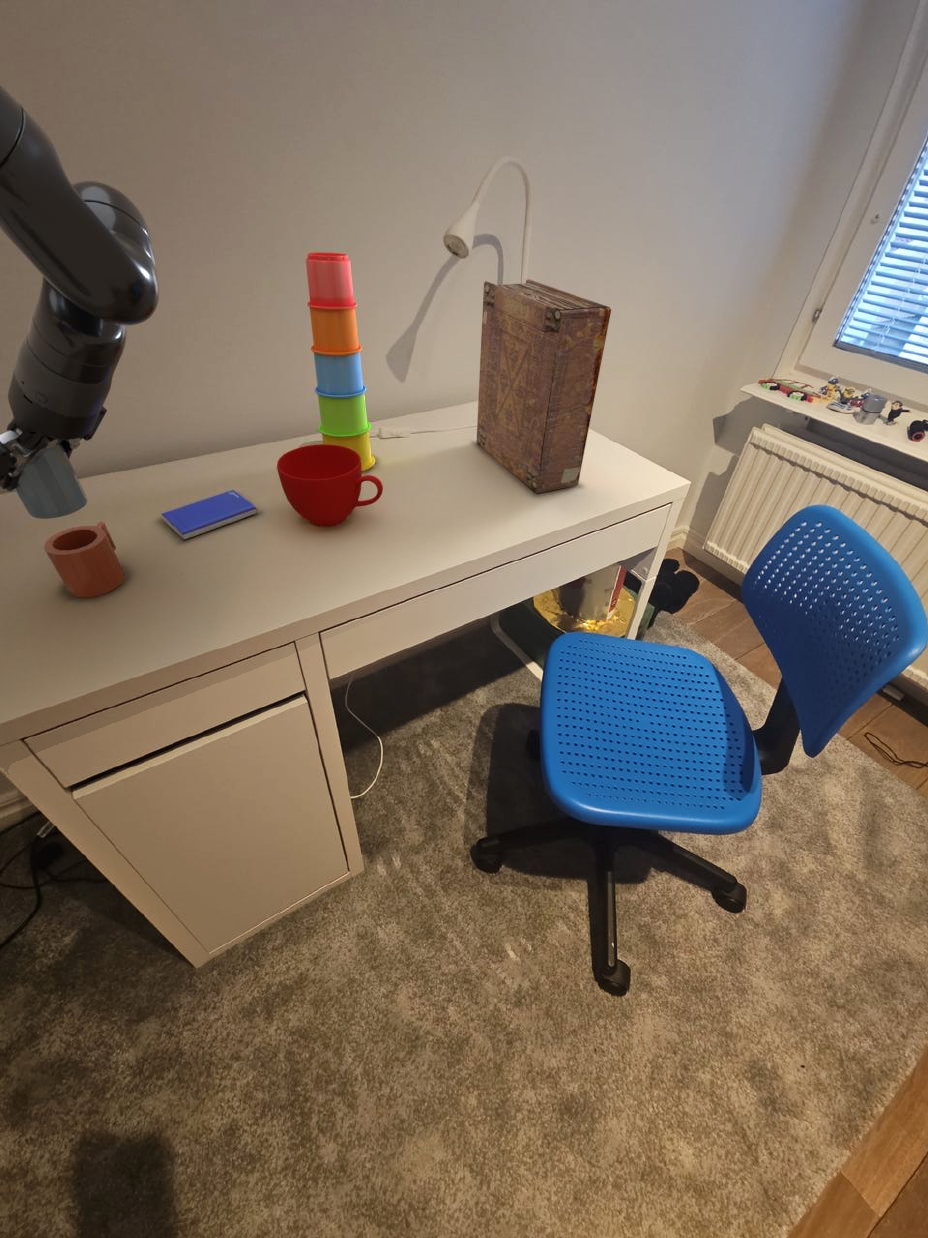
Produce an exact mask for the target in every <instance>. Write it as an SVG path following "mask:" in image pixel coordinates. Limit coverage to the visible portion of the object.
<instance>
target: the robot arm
mask: <svg viewBox="0 0 928 1238" xmlns="http://www.w3.org/2000/svg"><path fill="white" fill-rule="evenodd" d="M64 169H65V168H64V167H63V164H62V162H61V159H60V156H59V154H58V151H57V149H56V146H55V145H54V143H53V141H52V139H51V138H50V136H49V135H48V134H47V132H46V131H45V130H44V128H43V127H42V126H41V124H39V122H38V121H37V120H36V118H34V117H33V115H32V114H31V113H30V112H29V111H28V110H27V108H25V107H24V105H22V103H20V101H18V99H17V98H16V97H15V96H14V95H13V94H12V93H11V92H10V91H9V90H8V89H7V87H6V86H5V85H3V84H2V83H1V82H0V231H1V232H2V233H3V234H4V235H5V237H6V238H8V240H9V241H10V242H11V243H12V244H13V245H14V247H16V248H17V250H18V251H19V252H20V253H21V254H22V255H23V256H24V257H25V258H26V259H27V261H29V263H30V264H31V265H32V266H33V267H34V268H35V269H36V270H37V271H38V272H39V273H40V274H41V276H42V279H41V285H40V290H39V295H38V298H37V301H36V302H35V305H34V308H33V309H32V310H33V311H32V314H31V317H30V321H29V325H28V330H27V332H26V335H25V337H24V339H23V340H22V343H21V345H20V346H19V349H18V353H17V356H16V361H15V364H14V367H13V373H12V376H11V381H10V384H9V388H8V392H7V399H8V404H9V407H10V410H11V412H12V413H11V414H12V417H13V418H12V419H11V421H10V422H9V423H8V424H7V426H6V432H3V433H1V434H0V488H2V489H3V490H6V491H8V492H12V491H13V490H14V491H15V489H16V487H17V483H18V481H19V478H20V475H21V473H20V472H21V471H22V470H23V469H24V468H25V467H26V466H27V465H29V464H35V463H36V462H37V461H38V460H39V459H40V458H41V456H42V455H43V454H44V453H45V452H46V451H47V450H48V449H52V448H53V447H54V446H55V445H56V444H58V443H61V444H62V446H63V448H64V450H65V452H66V454H67V457H68V459H69V460H70V458H71V456H72V453H73V451H74V450H76V449H78V448H79V447H80V446H81V440H84V441H86V442H87V441H91V440H92V439H93V437H94V435H95V434H96V432H97V431H98V429H99V426H100V425H101V423H102V421H103V419H104V417H105V416H106V414H107V412H108V410H107V409H106V407H105V406H104V405H105V402H106V400H107V398H108V395H109V393H110V391H111V387H112V383H113V377H114V375H115V371H116V369H117V367H118V364H119V363H120V360H121V358H122V356H123V354H124V351H125V348H126V343H127V338H128V337H127V336H128V331H127V330H128V329H127V328H128V327H127V326H134V325H135V326H136V325H139V324H142V323H144V322H146V321H147V320H149V319H150V318H151V317H152V316H153V315H154V314H155V312H156V310H157V308H158V305H159V300H160V283H159V275H158V271H157V266H156V258H155V253H154V246H153V241H152V236H151V232H150V229H149V226H148V224H147V221H146V220H145V218H144V216H143V214H142V212H141V211H140V210H139V208H138V207H137V206H136V204H135V203H134V202H133V201H132V200H131V199H130V198H129V197H128V196H127V195H126V194H125V193H124V192H122V191H121V190H120V189H117V188H116V187H114V186H112V185H110V184H108V183H105V182H101V181H97V180H81V181H80V180H79V181H77V182H76V181H75V182H73V183H71V181H70V179H69V177H68V175H67V174H66V171H65V170H64ZM17 442H18V443H19V444H21V445H22V446H24V447H25V448H27V449H29V450H31V451H32V452H31V453H30V454H29V453H28V452H26V451H25V450H24V449H23V448H22V447H21V446H20V445H18V444H17ZM12 456H14V457H16V459H17V462H16V463H15V464H14V463H13V462H11V461H10V457H12Z"/></svg>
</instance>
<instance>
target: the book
mask: <svg viewBox="0 0 928 1238" xmlns="http://www.w3.org/2000/svg"><path fill="white" fill-rule="evenodd" d="M482 297H483V298H482V317H481V337H480V338H481V339H480V360H479V380H478V401H477V402H478V403H477V422H476V444H477V445H478V446H479V447H480V448H481V449H483V450H484V451H485V452H486V453H487V454H489V456H491V457H492V458H493V459H495V461H497V462H498V463H499V464H500V465H502V466H503V467H504V468H505V469H506V470H508V471H509V472H510V473H511V474H512V475H514V476H515V477H516V478H517V479H518V480H519V481H521V482H522V483H523V484H524V485H525V486H526V487H527V488H529V489H530V490H531V491H532V492H534V493H535V494H536V495H537V494H541V493H546V492H550V491H551V492H552V491H556V490H560V489H564V488H571V487H575V486H577V485H579V482H580V476H581V472H582V466H583V462H584V461H583V460H584V457H585V451H586V445H587V440H588V434H589V429H590V424H591V418H592V413H593V408H594V403H595V397H596V393H597V388H598V382H599V376H600V371H601V365H602V361H603V357H604V350H605V345H606V340H607V334H608V329H609V323H610V319H611V313H612V309H611V306H607V305H605V304H602V303H599V302H596V301H593V300H590V299H587V298H584V297H582V296H578V295H575V294H573V293H570V292H567V291H564V290H561V289H559V288H556V287H552V286H550V285H548V284H547V285H546V284H544V283H541V282H538V281H535V280H533V279H529V278H528V279H525V282H524V283H507V284H496V283H493V282H490V281H487V280H485V281H483V295H482Z"/></svg>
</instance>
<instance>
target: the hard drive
mask: <svg viewBox="0 0 928 1238" xmlns="http://www.w3.org/2000/svg"><path fill="white" fill-rule="evenodd" d="M257 514H258V509H257V507H256V506H255V505H254V504H253V503H252V502H251V501H249V500H248V499H247V498H245V497H244V496H243V495H241V494H240V493H239V492H237V491H236V490H235V489H231V490H228V491H225V492H222V493H219V494H216V495H212V496H210V497H206V498H203V499H201V500H198V501H195V502H192V503H189V504H185V505H183V506H180V507H177V508H174V509H170V510H168V511H165V512H161V513H160V515H161V518H162V521H164V522H165V523H166V525H167V526H169V527H170V528H171V529H172V530H173V531H174V533H176V534H177V535H178V536H179V537H180V538H181V539H182V540H184V541H185V540H187V539H190V538H193V537H196V536H198V535H201V534H204V533H206V532H209V531H213V530H215V529H217V528H218V529H219V528H221V527H223V526H226V525H229V524H231V523H235V522H236V521H240V520H242V519H245V518H247V517H250V516H253V515H257Z"/></svg>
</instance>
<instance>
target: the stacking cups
mask: <svg viewBox="0 0 928 1238" xmlns="http://www.w3.org/2000/svg"><path fill="white" fill-rule="evenodd" d="M348 258H349V257H348V254H346V253H340V252H325V251H324V252H318V251H317V252H316V251H315V252H308V253H307V257H306V258H305V264H306V265H305V266H306V277H307V285H308V287H307V288H308V295H309V301H308V302H307V303H306V304H307V307H309V314H310V323H311V332H312V333H311V334H312V343H313V345H311V347H310V351H311V352H312V353H313V359H314V366H315V376H316V377H315V378H316V384H317V386H316V387H315V388H314V393H315V394H316V395H317V401H318V407H319V417H320V424H319V425H318V427H317V428H318V429H317V430H318V432H319V433H320V434H321V438H322V444H329V445H339V446H343V447H347V448H350V449H352V450H354V451H355V452H357V453H358V454H359V456H360V457H361V466H362V473H363V472H366V471H368V470H370V469H371V468H373V467H374V465H375V464H376V458H375V457H374V456H373V455H372V449H371V441H370V431H371V429H372V424H371V423H370V422H369V421H368V417H367V408H366V397H365V393H366V392H367V387H366V386H365V385H364V382H363V371H362V361H361V352H362V351H363V347H362V345H360V344H359V337H358V336H359V335H358V325H357V324H358V323H357V316H356V315H357V314H356V308H357V307H358V303H357V302H355V298H354V288H353V287H354V286H353V277H352V266H351V265H352V264H351V260H350V259H348Z"/></svg>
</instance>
